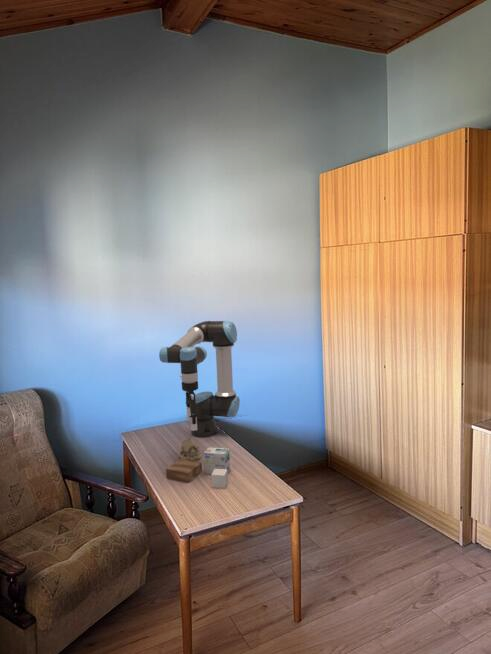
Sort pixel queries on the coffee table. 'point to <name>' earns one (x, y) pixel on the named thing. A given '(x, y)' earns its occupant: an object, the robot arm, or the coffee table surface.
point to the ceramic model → (189, 450)
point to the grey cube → (219, 478)
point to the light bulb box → (216, 459)
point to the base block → (184, 470)
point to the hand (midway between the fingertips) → (192, 425)
